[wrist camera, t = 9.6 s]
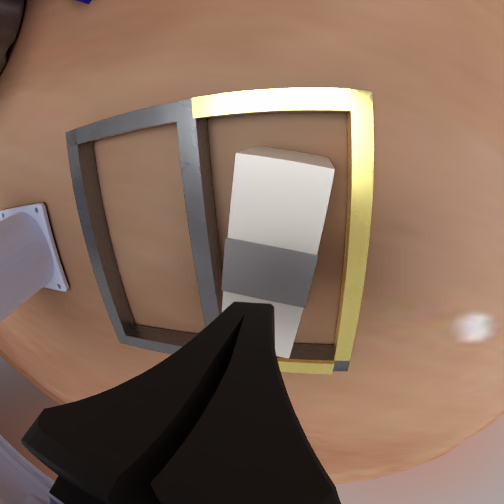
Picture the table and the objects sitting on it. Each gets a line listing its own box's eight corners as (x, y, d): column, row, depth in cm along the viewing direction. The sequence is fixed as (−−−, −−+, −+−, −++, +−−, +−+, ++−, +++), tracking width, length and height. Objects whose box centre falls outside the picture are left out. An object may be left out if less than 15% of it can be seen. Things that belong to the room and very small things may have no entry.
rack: (128, 331, 21) (118, 345, 20) (81, 130, 15) (62, 133, 13) (346, 355, 18) (347, 374, 16) (365, 94, 11) (373, 90, 10)
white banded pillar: (240, 294, 18) (217, 344, 14) (257, 145, 14) (233, 153, 10) (297, 306, 17) (289, 360, 13) (329, 157, 13) (336, 170, 9)
